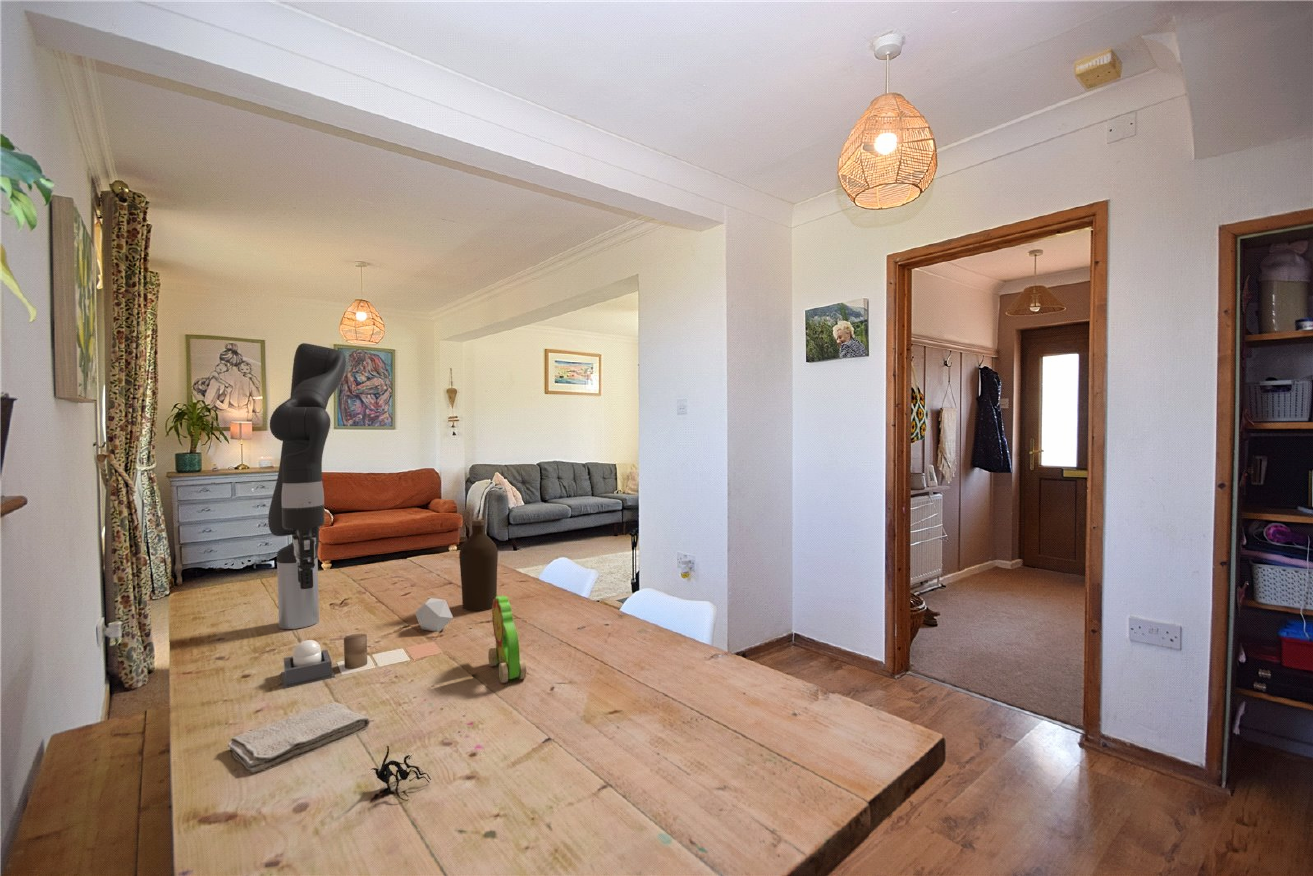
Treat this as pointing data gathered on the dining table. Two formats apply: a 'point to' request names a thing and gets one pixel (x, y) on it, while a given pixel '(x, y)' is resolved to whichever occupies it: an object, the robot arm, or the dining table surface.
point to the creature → (387, 773)
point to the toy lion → (505, 642)
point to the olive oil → (478, 569)
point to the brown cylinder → (355, 651)
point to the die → (434, 615)
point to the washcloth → (295, 736)
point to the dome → (306, 653)
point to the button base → (307, 671)
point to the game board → (394, 657)
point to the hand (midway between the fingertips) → (305, 584)
